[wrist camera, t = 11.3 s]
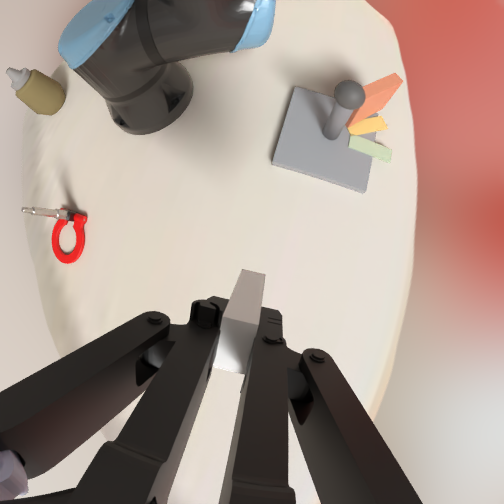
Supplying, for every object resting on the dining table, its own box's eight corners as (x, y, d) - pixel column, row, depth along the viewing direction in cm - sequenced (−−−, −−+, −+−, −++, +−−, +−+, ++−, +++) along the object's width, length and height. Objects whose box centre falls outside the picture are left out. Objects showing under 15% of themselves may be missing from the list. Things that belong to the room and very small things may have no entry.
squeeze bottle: (47, 126, 41) (-6, 96, 23) (42, 108, 41) (-5, 77, 23) (72, 100, 40) (22, 61, 22) (65, 83, 41) (21, 47, 23)
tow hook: (81, 269, 40) (92, 217, 39) (28, 277, 27) (38, 210, 26) (52, 255, 40) (62, 206, 40) (2, 258, 27) (11, 198, 27)
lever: (329, 148, 36) (353, 104, 23) (314, 129, 36) (331, 80, 23) (384, 115, 35) (418, 74, 23) (370, 99, 35) (398, 54, 23)
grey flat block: (272, 164, 38) (272, 160, 36) (294, 91, 38) (295, 85, 36) (380, 200, 37) (384, 197, 35) (391, 124, 37) (395, 120, 35)
